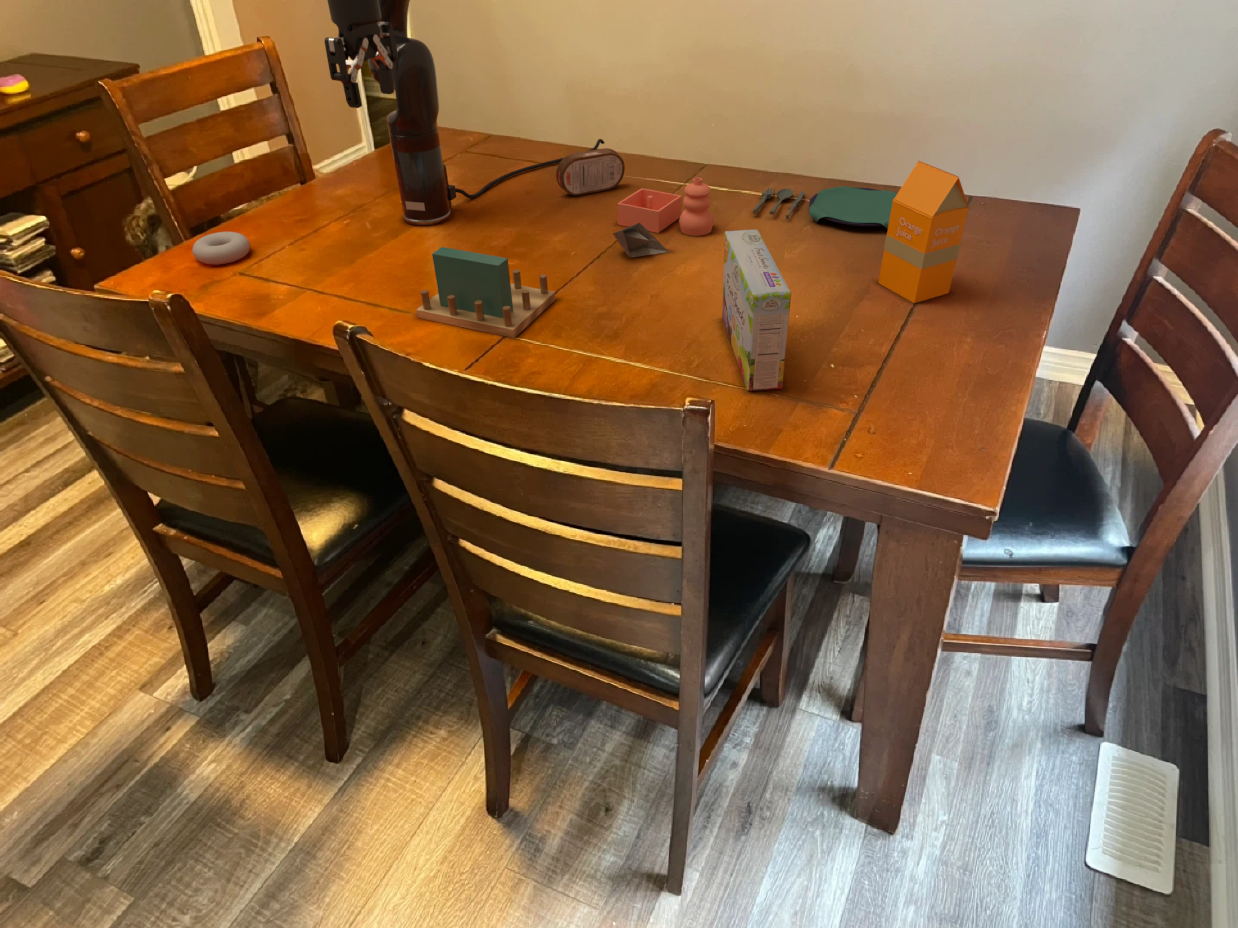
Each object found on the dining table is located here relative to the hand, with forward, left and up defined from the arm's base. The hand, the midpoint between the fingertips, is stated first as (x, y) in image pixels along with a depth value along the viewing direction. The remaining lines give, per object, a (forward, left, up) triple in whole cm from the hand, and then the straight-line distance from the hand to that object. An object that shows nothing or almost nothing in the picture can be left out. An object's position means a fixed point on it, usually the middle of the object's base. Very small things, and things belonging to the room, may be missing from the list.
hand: (371, 100), depth 138 cm
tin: (-45, +17, -28) cm, 56 cm away
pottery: (-34, +39, -28) cm, 59 cm away
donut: (+10, -33, -28) cm, 45 cm away
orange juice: (-23, +87, -28) cm, 94 cm away
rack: (+10, +24, -28) cm, 38 cm away
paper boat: (-18, +39, -28) cm, 51 cm away
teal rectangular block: (+13, +24, -27) cm, 38 cm away
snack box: (+8, +68, -28) cm, 74 cm away
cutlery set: (-52, +67, -28) cm, 89 cm away
